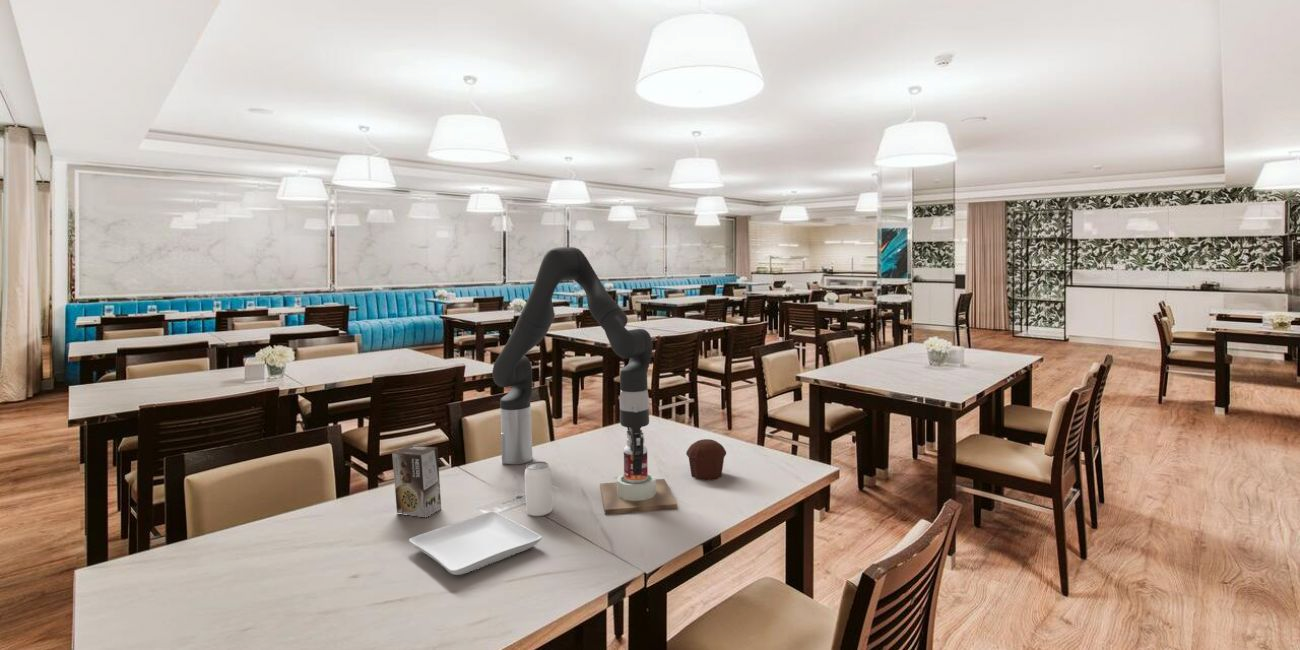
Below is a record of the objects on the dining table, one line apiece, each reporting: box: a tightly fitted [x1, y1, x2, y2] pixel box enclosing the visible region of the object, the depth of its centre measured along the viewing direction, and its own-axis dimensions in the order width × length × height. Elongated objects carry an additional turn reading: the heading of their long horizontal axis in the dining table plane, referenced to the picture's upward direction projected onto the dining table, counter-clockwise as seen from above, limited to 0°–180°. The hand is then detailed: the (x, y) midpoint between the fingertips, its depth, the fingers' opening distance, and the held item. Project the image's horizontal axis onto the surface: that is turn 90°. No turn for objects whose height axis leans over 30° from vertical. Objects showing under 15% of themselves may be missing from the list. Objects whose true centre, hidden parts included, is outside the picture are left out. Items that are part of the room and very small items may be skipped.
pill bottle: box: [623, 437, 649, 483], centre depth 157 cm, size 6×6×11 cm
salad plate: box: [408, 510, 543, 576], centre depth 131 cm, size 21×21×3 cm
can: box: [524, 461, 553, 517], centre depth 150 cm, size 6×6×12 cm
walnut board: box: [599, 478, 678, 515], centre depth 158 cm, size 18×18×1 cm
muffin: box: [685, 439, 727, 481], centre depth 174 cm, size 12×11×10 cm
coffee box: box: [391, 445, 442, 519], centre depth 151 cm, size 9×6×16 cm
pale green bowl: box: [616, 472, 656, 501], centre depth 158 cm, size 10×10×4 cm
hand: (635, 469), depth 157 cm, fingers closed on pill bottle, 6 cm apart
